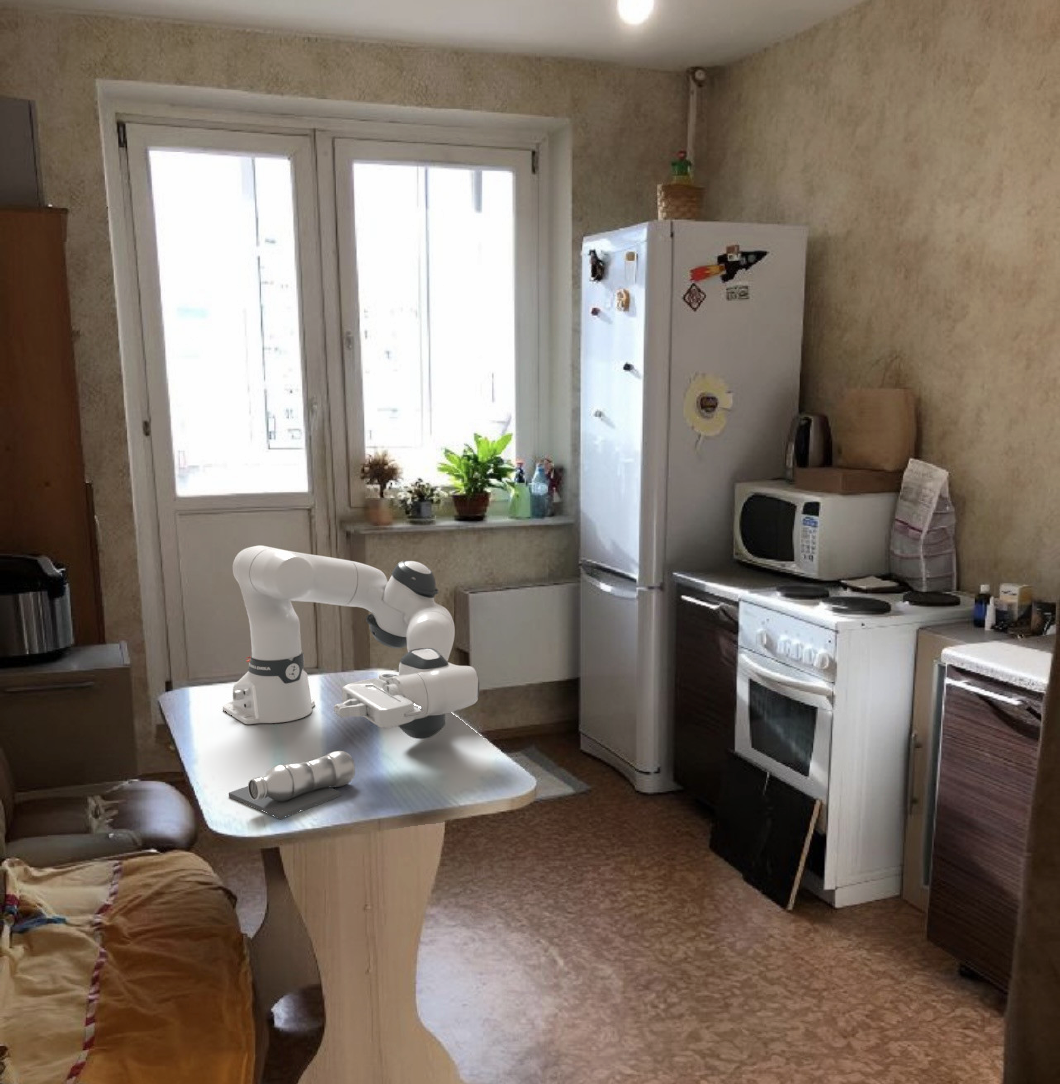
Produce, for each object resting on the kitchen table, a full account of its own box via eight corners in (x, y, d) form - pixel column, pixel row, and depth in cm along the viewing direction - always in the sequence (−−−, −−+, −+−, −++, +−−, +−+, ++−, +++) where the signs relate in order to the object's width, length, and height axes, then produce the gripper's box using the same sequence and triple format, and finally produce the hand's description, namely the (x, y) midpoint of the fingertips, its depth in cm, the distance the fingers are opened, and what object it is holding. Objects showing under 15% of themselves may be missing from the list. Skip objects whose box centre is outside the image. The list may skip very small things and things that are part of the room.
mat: (228, 796, 180) (228, 792, 180) (288, 775, 190) (288, 771, 189) (280, 819, 169) (280, 815, 169) (340, 795, 179) (340, 791, 179)
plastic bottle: (343, 741, 187) (246, 763, 173) (362, 761, 182) (265, 785, 168) (337, 770, 189) (241, 794, 175) (356, 790, 184) (259, 816, 170)
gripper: (428, 728, 183) (359, 742, 175) (384, 701, 200) (318, 714, 192) (427, 695, 182) (357, 708, 174) (382, 671, 199) (317, 682, 192)
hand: (336, 711), depth 184 cm, fingers closed
